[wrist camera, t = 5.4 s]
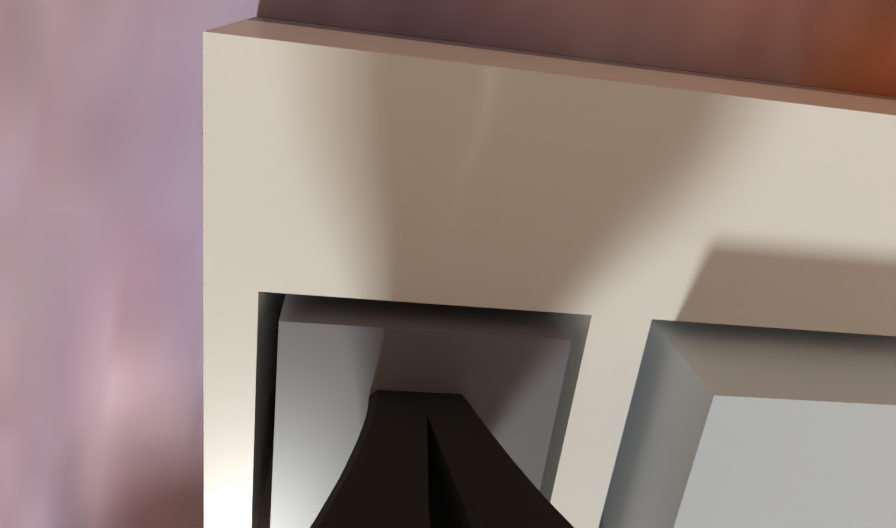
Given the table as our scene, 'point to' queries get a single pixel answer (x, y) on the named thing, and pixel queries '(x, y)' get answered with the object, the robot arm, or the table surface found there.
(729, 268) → the keypad
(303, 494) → the charcoal key
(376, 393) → the robot arm
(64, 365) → the table surface
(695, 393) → the grey key
